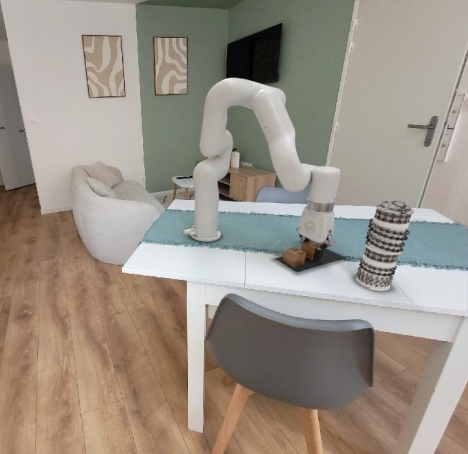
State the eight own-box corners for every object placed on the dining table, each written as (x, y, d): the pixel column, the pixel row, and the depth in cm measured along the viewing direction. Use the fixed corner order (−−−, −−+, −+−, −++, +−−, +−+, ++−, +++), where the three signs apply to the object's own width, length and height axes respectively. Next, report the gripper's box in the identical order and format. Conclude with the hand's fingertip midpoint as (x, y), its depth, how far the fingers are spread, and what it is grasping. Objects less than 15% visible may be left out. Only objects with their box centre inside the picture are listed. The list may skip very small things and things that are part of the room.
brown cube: (311, 260, 98) (313, 248, 96) (300, 254, 102) (302, 242, 100) (321, 257, 99) (324, 245, 97) (310, 251, 103) (312, 240, 101)
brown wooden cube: (293, 267, 96) (295, 255, 94) (282, 261, 100) (284, 249, 98) (303, 264, 97) (306, 252, 95) (293, 258, 101) (295, 246, 99)
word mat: (296, 273, 93) (297, 272, 93) (274, 259, 102) (274, 258, 102) (345, 258, 100) (346, 257, 100) (320, 247, 109) (321, 246, 109)
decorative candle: (348, 273, 92) (367, 198, 82) (381, 275, 90) (404, 198, 81) (362, 290, 84) (385, 208, 74) (398, 292, 82) (427, 209, 72)
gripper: (290, 200, 99) (283, 247, 106) (335, 215, 85) (324, 269, 92) (307, 197, 102) (299, 243, 109) (353, 211, 87) (341, 264, 94)
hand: (310, 255), depth 100 cm, fingers closed on brown cube, 4 cm apart
